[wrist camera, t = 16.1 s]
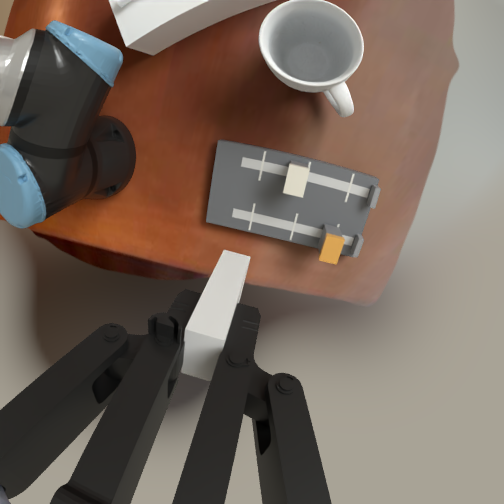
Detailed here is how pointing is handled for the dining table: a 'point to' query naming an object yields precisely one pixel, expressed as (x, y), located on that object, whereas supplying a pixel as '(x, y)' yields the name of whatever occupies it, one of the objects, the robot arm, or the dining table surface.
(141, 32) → the tissue box
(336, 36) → the mug
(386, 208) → the dining table surface
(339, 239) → the fader orange
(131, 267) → the dining table surface
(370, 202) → the console
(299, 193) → the fader cream
